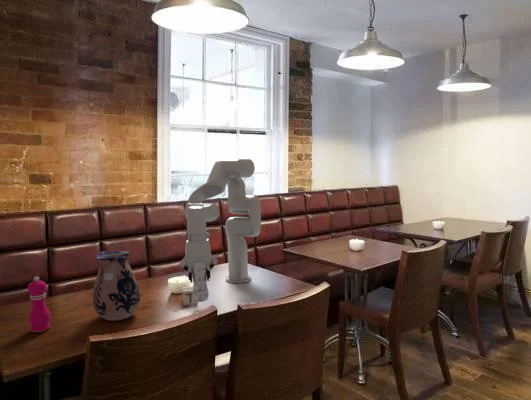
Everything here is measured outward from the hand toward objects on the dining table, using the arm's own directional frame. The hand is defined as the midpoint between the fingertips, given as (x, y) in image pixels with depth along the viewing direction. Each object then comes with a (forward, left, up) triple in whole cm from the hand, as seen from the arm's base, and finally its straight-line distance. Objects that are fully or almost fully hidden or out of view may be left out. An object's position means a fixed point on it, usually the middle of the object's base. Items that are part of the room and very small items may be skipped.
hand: (199, 280), depth 170 cm
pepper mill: (+6, -58, -12) cm, 60 cm away
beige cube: (-9, -4, -12) cm, 16 cm away
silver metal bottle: (0, 0, -9) cm, 9 cm away
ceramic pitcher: (-1, -33, -12) cm, 36 cm away
